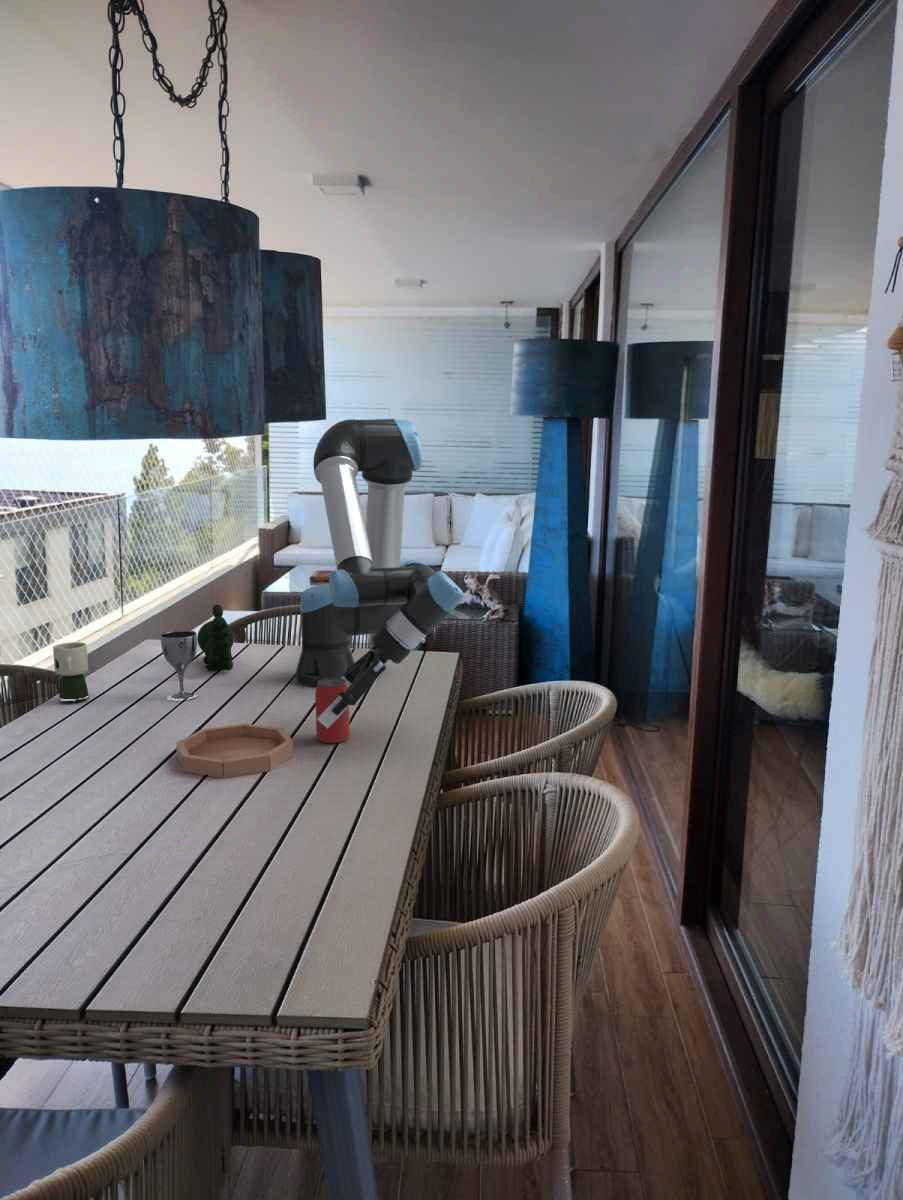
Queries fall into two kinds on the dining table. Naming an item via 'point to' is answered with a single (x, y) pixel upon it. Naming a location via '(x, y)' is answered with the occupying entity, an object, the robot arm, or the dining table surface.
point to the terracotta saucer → (234, 750)
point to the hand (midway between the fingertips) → (324, 713)
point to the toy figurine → (216, 641)
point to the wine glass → (179, 654)
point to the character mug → (71, 669)
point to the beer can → (324, 698)
